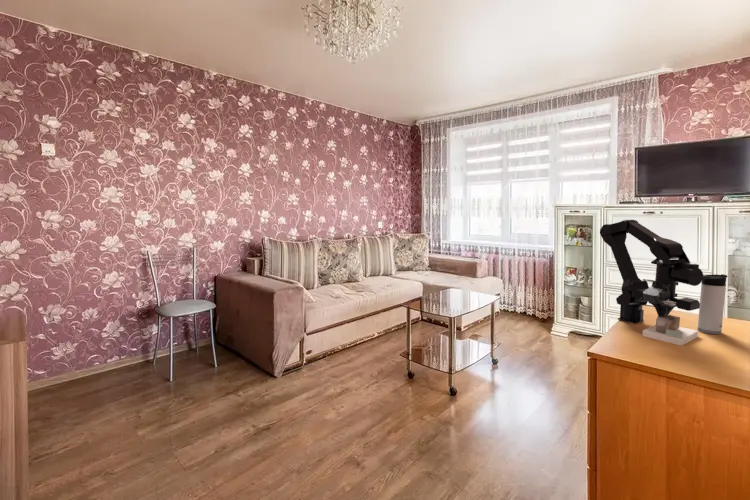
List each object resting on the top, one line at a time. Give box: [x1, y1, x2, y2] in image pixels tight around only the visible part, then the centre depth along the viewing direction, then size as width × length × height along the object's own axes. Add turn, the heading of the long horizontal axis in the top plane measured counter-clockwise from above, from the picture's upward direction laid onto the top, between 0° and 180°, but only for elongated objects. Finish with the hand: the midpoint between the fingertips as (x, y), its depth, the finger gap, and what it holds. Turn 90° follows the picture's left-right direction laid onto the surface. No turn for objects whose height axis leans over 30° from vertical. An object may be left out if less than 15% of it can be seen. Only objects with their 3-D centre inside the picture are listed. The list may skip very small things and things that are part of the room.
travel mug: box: [697, 274, 728, 335], centre depth 131 cm, size 6×7×20 cm
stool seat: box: [641, 324, 699, 346], centre depth 129 cm, size 11×14×4 cm
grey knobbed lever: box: [655, 314, 681, 333], centre depth 129 cm, size 9×3×5 cm, turn 117°
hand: (661, 322), depth 133 cm, fingers closed
